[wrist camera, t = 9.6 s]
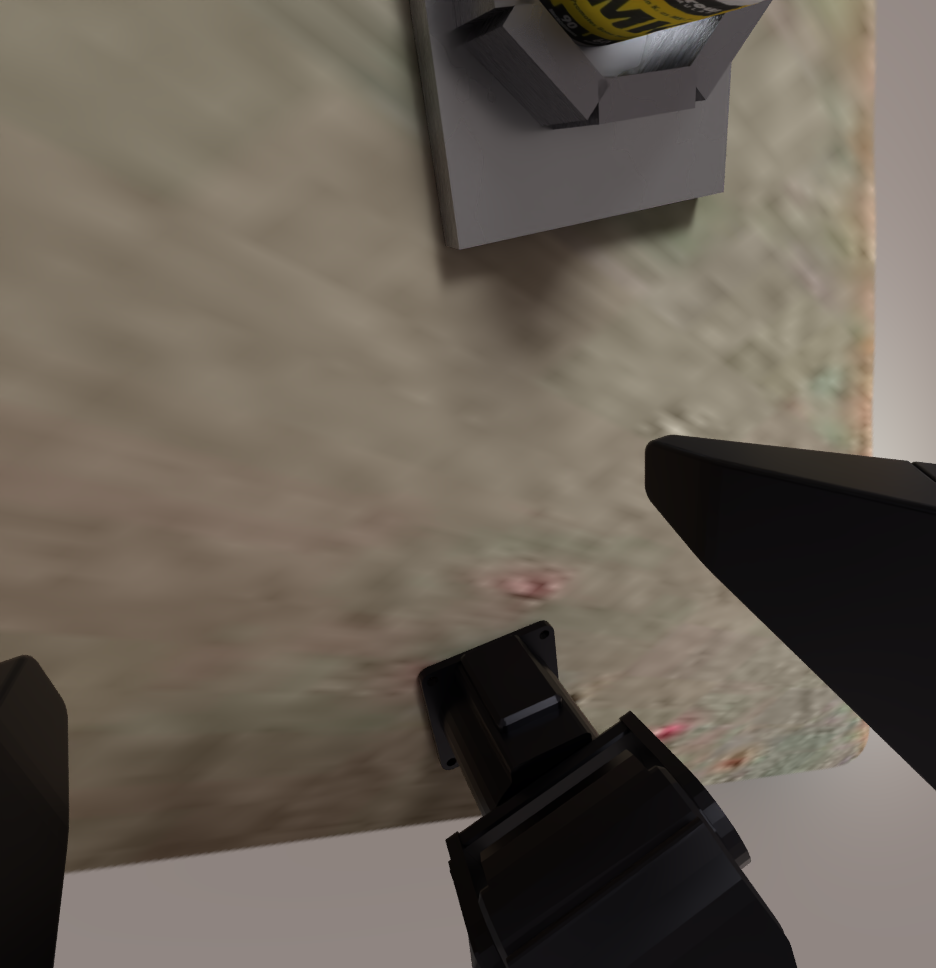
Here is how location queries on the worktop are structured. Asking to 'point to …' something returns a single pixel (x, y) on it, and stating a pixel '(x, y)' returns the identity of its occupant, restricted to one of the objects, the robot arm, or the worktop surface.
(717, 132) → the socket plate
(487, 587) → the worktop surface
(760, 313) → the worktop surface
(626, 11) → the supplement bottle
